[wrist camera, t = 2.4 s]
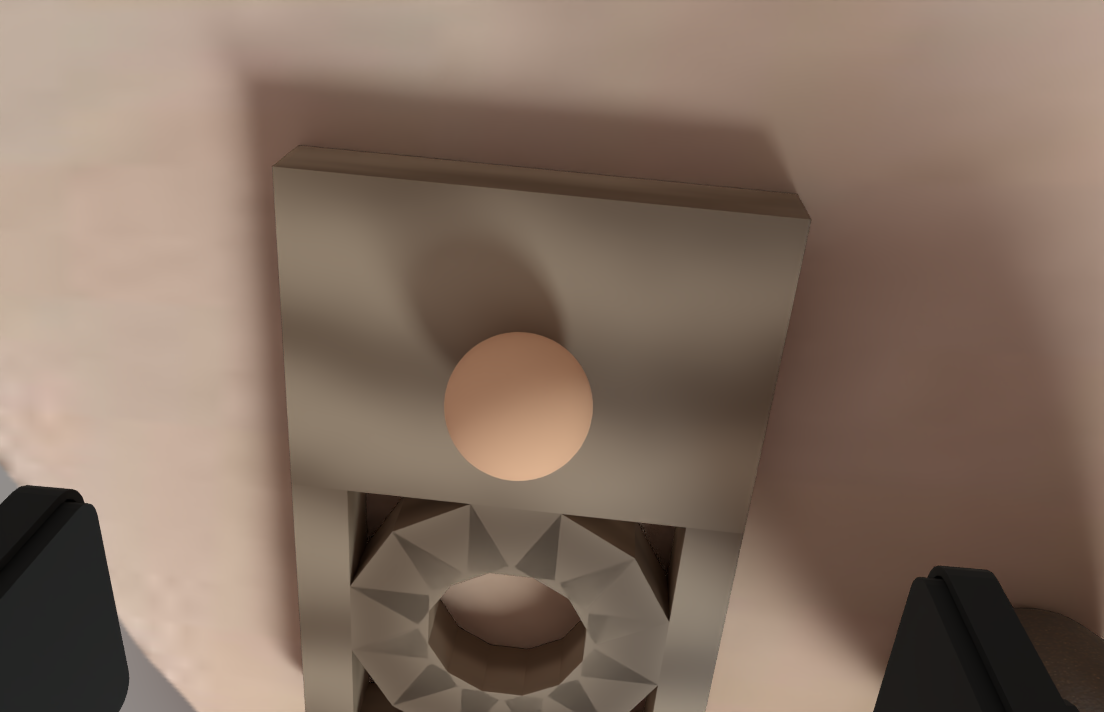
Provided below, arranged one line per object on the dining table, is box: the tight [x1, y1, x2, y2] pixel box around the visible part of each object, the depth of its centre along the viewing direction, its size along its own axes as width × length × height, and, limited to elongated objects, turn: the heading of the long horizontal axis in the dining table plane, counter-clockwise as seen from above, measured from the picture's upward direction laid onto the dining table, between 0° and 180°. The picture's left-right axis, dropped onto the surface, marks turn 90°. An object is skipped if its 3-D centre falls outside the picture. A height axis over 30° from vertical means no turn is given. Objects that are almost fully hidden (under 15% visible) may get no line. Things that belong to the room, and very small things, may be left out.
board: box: [272, 145, 811, 712], centre depth 34 cm, size 24×16×2 cm, turn 176°
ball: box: [444, 332, 593, 481], centre depth 28 cm, size 4×4×4 cm
